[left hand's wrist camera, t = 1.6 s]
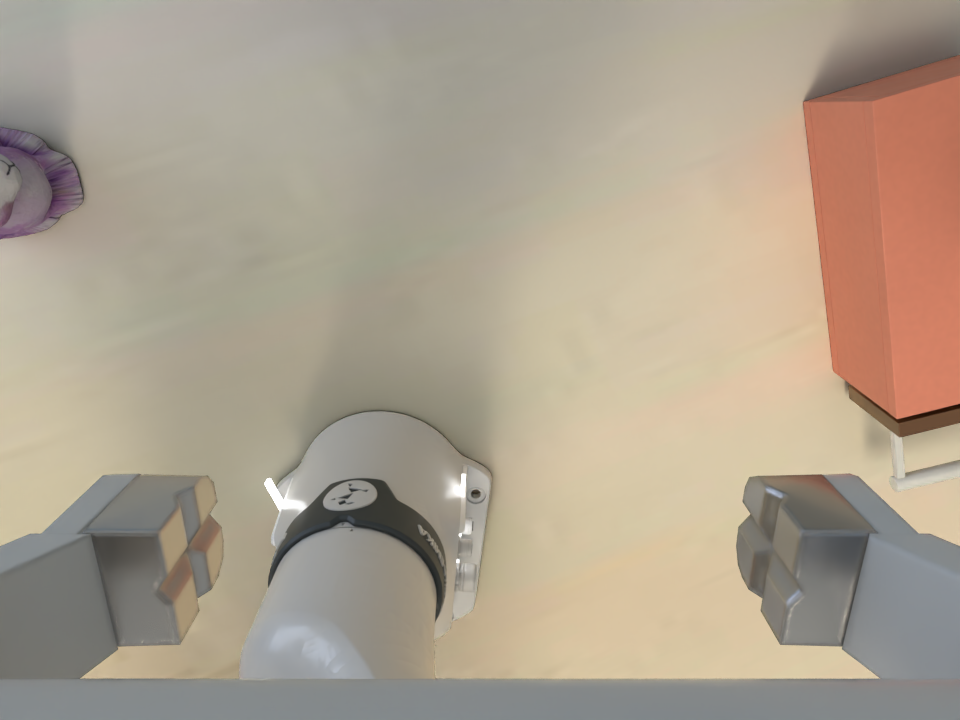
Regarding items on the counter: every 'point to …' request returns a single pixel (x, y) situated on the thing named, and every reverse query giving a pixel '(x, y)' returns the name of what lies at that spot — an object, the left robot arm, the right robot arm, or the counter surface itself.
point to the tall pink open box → (892, 234)
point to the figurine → (34, 184)
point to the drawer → (909, 427)
